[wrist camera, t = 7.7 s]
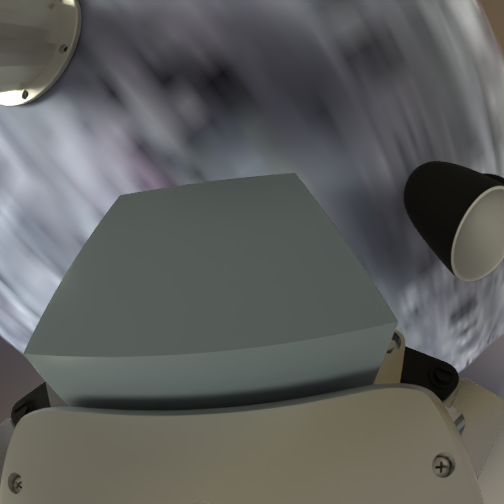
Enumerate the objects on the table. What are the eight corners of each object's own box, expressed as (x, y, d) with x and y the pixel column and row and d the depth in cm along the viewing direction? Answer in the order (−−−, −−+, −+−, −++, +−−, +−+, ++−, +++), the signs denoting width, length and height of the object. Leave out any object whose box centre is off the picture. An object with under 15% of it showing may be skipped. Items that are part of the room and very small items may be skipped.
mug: (402, 242, 30) (452, 299, 21) (382, 170, 25) (445, 215, 17) (477, 197, 28) (533, 239, 19) (466, 129, 23) (535, 157, 15)
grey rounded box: (119, 195, 12) (23, 353, 5) (295, 173, 12) (398, 321, 5) (159, 321, 16) (142, 469, 9) (294, 307, 17) (337, 453, 9)
